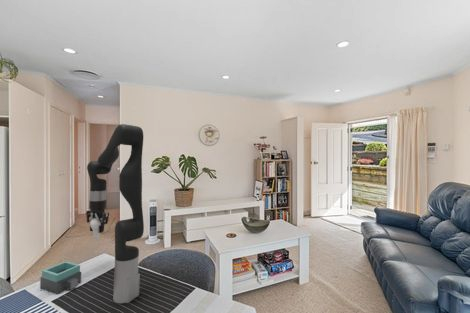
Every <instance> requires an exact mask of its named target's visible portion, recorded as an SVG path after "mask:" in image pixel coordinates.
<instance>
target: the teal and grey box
mask: <svg viewBox="0 0 470 313" xmlns="http://www.w3.org/2000/svg"><path fill="white" fill-rule="evenodd" d="M39 280H40V282H39V288H40V289H41V290H45V291H46V292H49V293H51V294H55V295H59V294H61V293H63V292H66V291H67V290H72V289H75V288H76V287H78V285H79V284H81V282H82V271H81V265H80V264H77V263H73V262H71V261H70V262H69V261H64V262H61V263H58V264H57V265H53V266H51V267H48V268H46V269H43V270H42V272H41V276H40V279H39Z"/></svg>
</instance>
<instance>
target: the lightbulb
mask: <svg viewBox="0 0 470 313" xmlns="http://www.w3.org/2000/svg"><path fill="white" fill-rule="evenodd" d="M101 219H102V218H101ZM101 223H102V221H101ZM90 226H91V228H92V230H93V231H92V233H93V234H92V235H93V239H99V238H100V235H101V233H99V222H97V219H96V218H94V219H92V220H91V222H90V224H89V227H90Z"/></svg>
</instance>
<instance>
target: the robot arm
mask: <svg viewBox="0 0 470 313" xmlns="http://www.w3.org/2000/svg"><path fill="white" fill-rule="evenodd" d="M121 145H123V146H131V147H130V148H131V149H130V155H129V158H128V160H127V161H126V163H125V164H124V165H123V167H122V168H121V170H120V172H119V175H118V176H119V181H118V182H119V186H118V187H119V192H120V193H121V195H122V196H123V199H125V201H126V202H127V203H128V205H129V206H130V208H131V213H132V218H128V219H121V220H118V221H117V222H116V223H115V226H114V253H115V254H114V270H113V271H114V272H113V276H114V277H113V295H112V296H113V297H112V298H113V302H114V303H116V304H129V303H130V302H131V301H133V300H134V299H136V298H137V297H138V296H139V295H140V279H141V278H140V277H141V276H140V275H141V274H140V272H139V255H140V254H139V253H140V250H139V247H137V246H135V245H134V246H133V245H128V244H127V242H131V241H134V240H135V241H136V240H140V239H141V238H142V237H143V236H144V229H145V228H144V227H145V224H144V214H143V173H142V171H143V168H142V166H143V163H142V161H143V160H142V159H143V150H144V131H143V129H142V127H140V126H136V125H132V124H124V123H121V124H118V125H117V126H116V127H115V129H114V131H113V133H112V134H111V136H110V138H109V141H108V143H107V145H106V147H105V149H104V150H103V151H102V152H101V153H100V155H99V156H98V158H97V160H92V161H90V162H88V164H87V167H86V169H87V173H88V177H89V180H90V191H89V198H88V199H89V201H88V209H89V210H86V212H85V214H86V222H87V223H88V224H89V231H90V232H93V230H92V228H91V226H90V222H91V220H92V219H94V218H96V219H97V222H99V233H100V234H102V233H104V232H105V225H108V222H109V216H110V212H106V211H105V209H106V208H107V197H108V196H107V180H106V179H104V178H99V177H98V175H107V174H109V173H110V172H111V170H112V167H113V165H114V163H115V162H116V161H117V160H118V159H119V156H120V150H119V146H121ZM101 218H102V219H101ZM101 221H102V223H101Z"/></svg>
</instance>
